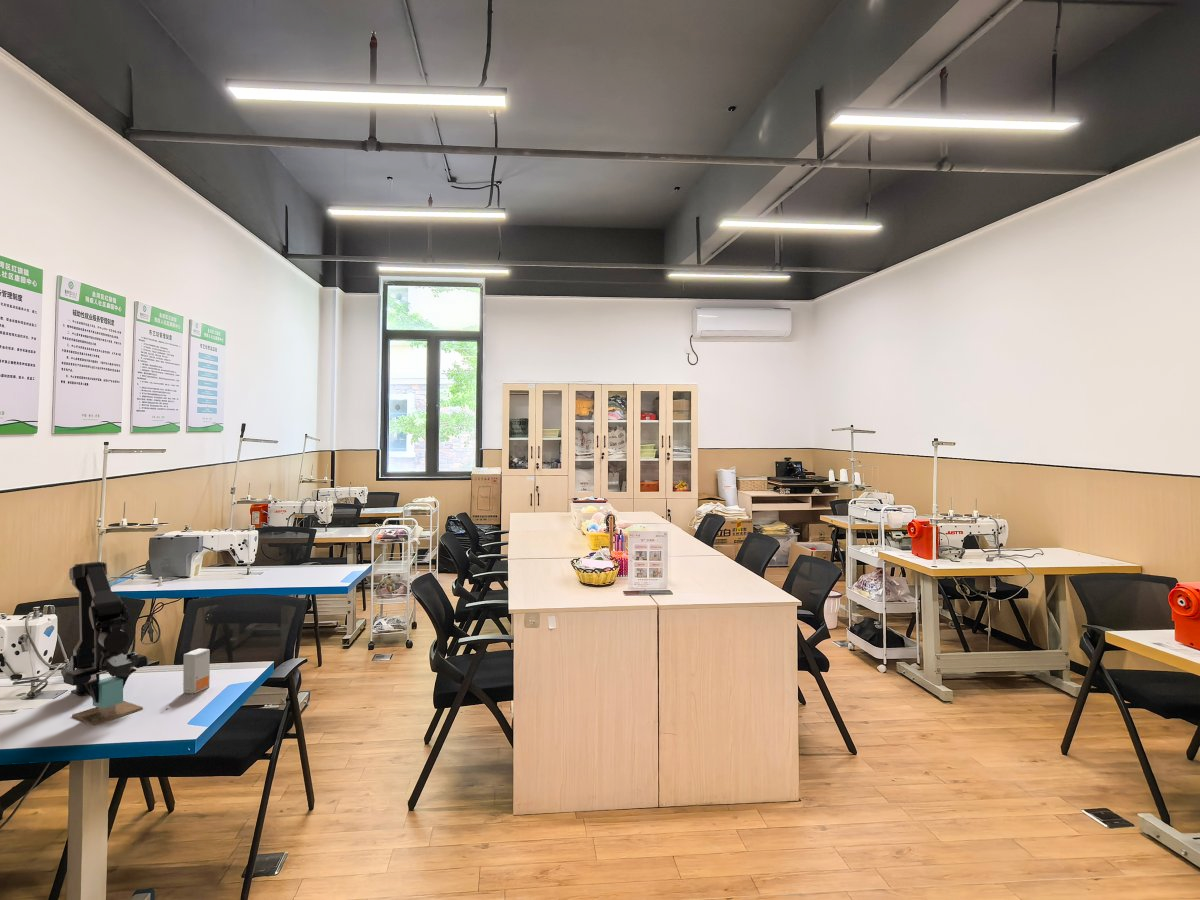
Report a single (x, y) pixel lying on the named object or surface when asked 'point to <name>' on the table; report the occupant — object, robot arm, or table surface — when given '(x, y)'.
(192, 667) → the skincare box
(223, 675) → the table surface
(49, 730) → the table surface
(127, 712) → the brown square base plate
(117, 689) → the teal rectangular block
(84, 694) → the robot arm
